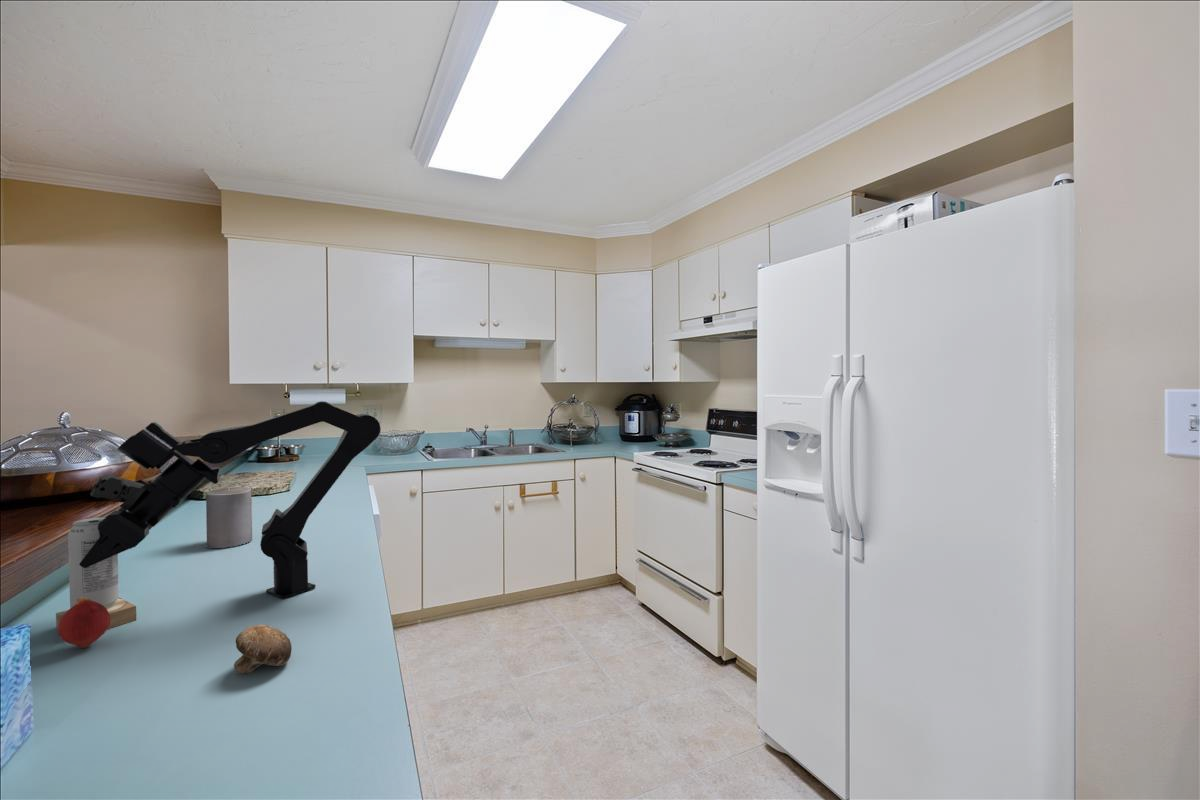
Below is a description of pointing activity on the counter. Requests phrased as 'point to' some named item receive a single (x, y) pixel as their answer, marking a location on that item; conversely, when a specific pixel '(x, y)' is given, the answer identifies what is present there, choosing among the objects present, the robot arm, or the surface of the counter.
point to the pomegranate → (84, 623)
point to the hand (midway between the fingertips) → (90, 558)
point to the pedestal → (113, 613)
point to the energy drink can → (91, 567)
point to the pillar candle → (228, 517)
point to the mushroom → (261, 648)
